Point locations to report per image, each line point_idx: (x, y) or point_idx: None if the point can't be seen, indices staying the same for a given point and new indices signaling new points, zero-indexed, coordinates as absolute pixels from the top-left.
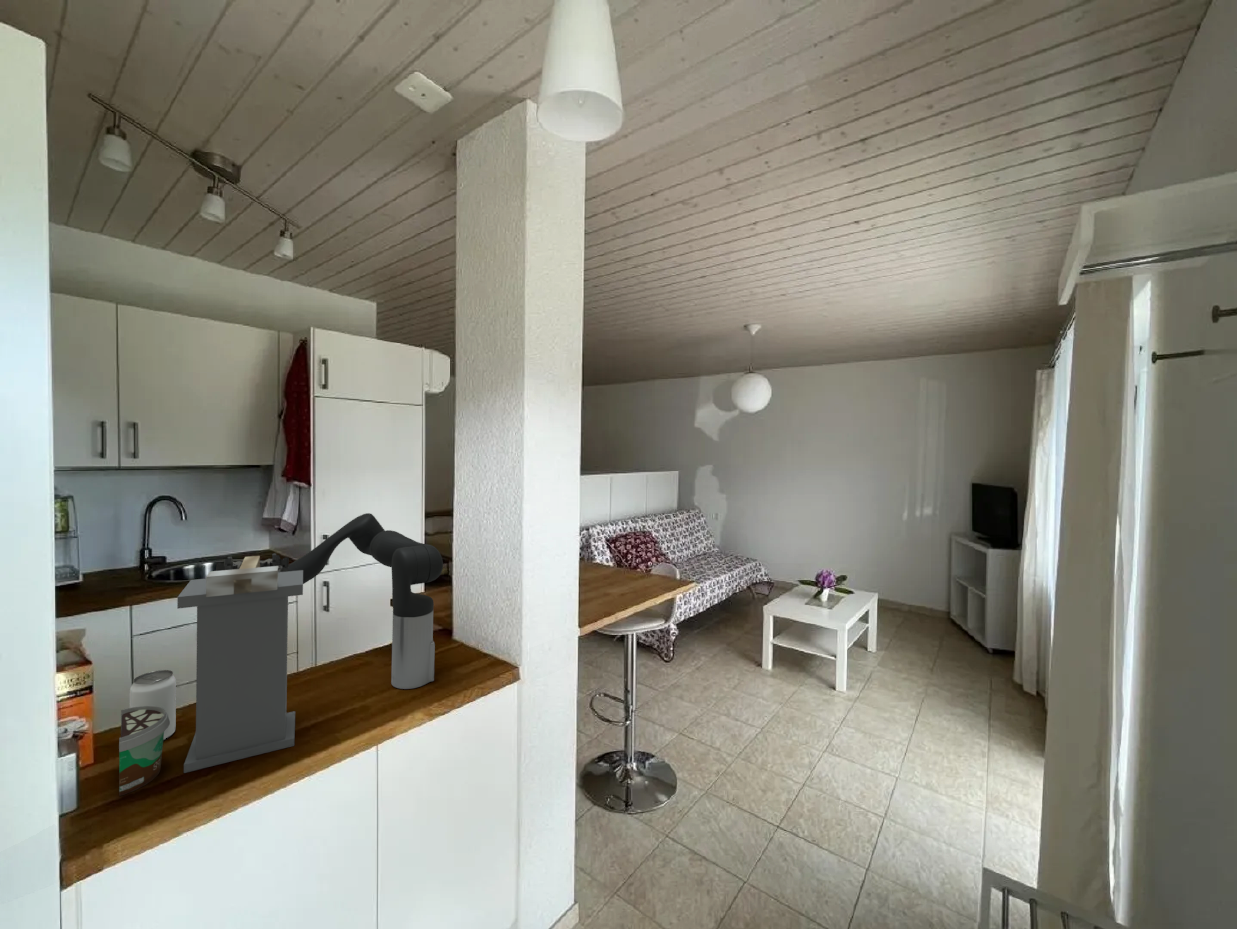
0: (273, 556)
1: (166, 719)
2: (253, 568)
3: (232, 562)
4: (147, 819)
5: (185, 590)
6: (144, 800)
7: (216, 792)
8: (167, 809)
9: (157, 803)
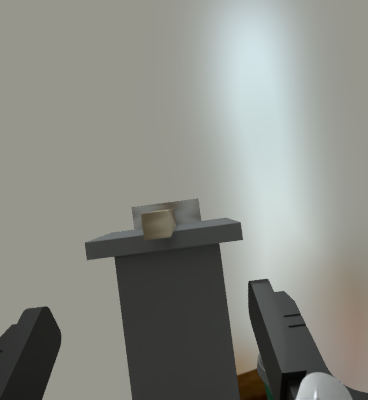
0: (47, 316)
1: (258, 363)
2: (156, 204)
3: (271, 357)
4: (247, 375)
5: (227, 219)
6: (262, 393)
7: None
8: (238, 380)
9: (249, 387)
